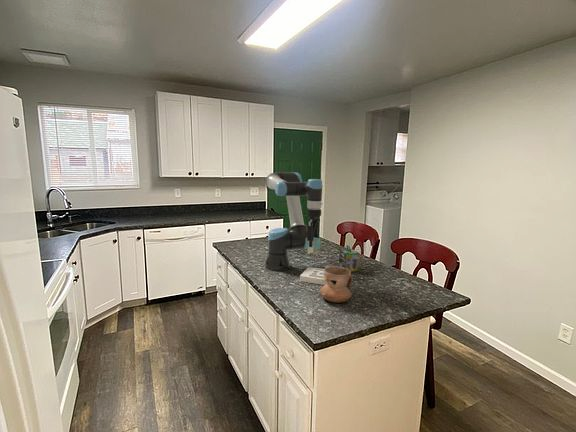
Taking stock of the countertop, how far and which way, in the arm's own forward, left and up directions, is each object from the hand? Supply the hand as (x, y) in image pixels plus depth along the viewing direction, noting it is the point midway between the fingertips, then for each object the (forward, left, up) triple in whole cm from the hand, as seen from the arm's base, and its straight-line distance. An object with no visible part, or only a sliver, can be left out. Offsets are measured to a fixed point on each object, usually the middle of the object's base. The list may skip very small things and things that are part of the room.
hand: (312, 251), depth 167 cm
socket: (+5, +3, -16) cm, 17 cm away
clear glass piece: (+10, +3, -13) cm, 17 cm away
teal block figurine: (0, 0, -1) cm, 1 cm away
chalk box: (+16, +25, -16) cm, 34 cm away
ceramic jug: (+18, -19, -16) cm, 30 cm away
